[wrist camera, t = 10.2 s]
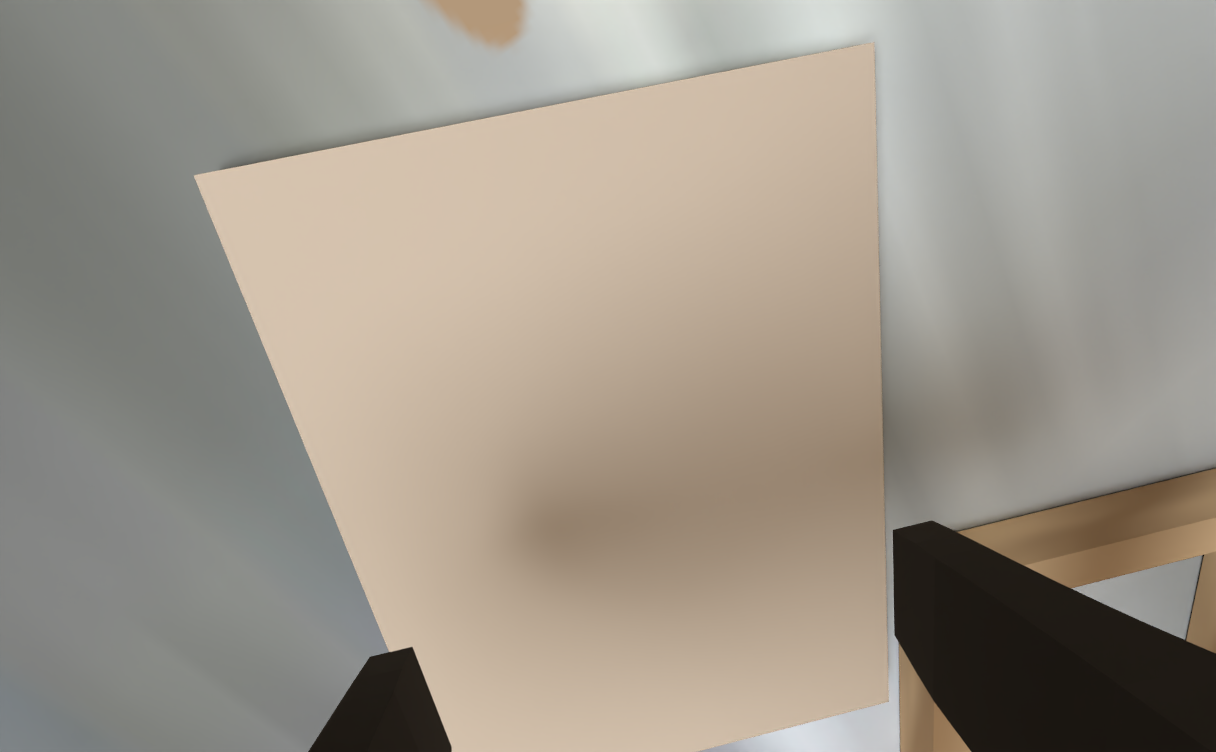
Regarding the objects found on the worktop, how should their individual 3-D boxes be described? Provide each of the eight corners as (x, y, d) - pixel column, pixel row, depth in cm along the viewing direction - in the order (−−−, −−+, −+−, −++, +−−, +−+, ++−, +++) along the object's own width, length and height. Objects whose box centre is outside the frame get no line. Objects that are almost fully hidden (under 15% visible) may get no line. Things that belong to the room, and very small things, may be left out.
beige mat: (850, 47, 11) (874, 41, 10) (872, 676, 17) (888, 701, 16) (216, 172, 11) (193, 175, 10) (458, 783, 16) (455, 813, 15)
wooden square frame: (1259, 457, 16) (1330, 489, 15) (1189, 760, 20) (1238, 807, 19) (897, 546, 15) (935, 587, 14) (901, 839, 20) (931, 893, 18)
